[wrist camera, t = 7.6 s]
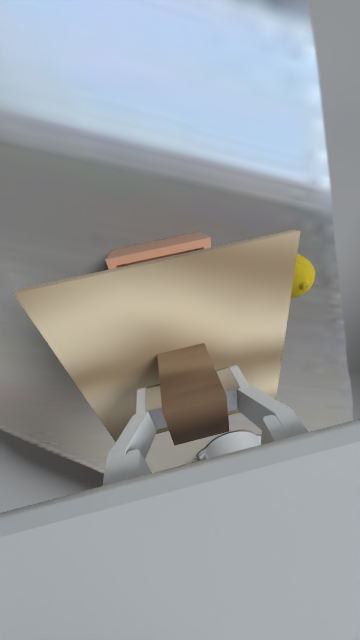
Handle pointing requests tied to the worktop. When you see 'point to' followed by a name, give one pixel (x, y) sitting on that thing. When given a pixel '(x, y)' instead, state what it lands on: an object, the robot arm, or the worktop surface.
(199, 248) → the salmon open box
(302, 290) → the lemon
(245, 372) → the lid
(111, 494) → the robot arm
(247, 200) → the worktop surface
